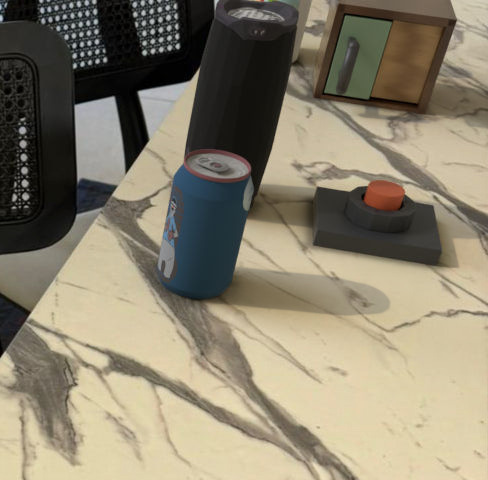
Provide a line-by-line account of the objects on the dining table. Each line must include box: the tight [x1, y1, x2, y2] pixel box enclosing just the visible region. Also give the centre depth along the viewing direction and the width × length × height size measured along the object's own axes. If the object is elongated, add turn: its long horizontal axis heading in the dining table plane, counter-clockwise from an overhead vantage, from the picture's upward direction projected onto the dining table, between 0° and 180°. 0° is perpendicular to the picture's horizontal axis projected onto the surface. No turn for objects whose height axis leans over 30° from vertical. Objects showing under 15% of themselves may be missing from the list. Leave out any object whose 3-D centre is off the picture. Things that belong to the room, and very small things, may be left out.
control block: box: [312, 185, 443, 267], centre depth 103 cm, size 12×10×4 cm
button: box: [363, 179, 406, 211], centre depth 102 cm, size 4×4×2 cm
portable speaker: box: [182, 0, 299, 211], centre depth 101 cm, size 9×9×20 cm
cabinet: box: [312, 0, 458, 116], centre depth 130 cm, size 14×10×12 cm
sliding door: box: [324, 15, 392, 99], centre depth 125 cm, size 6×5×9 cm
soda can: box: [156, 149, 254, 300], centre depth 91 cm, size 7×7×12 cm
